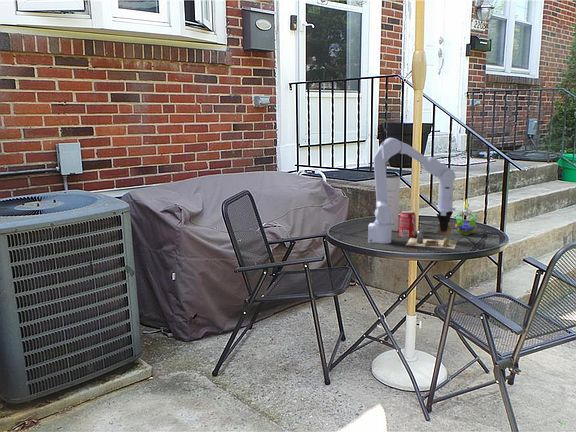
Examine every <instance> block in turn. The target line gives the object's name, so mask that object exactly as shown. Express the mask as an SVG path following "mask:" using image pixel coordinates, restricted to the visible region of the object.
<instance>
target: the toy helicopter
mask: <svg viewBox="0 0 576 432" xmlns="http://www.w3.org/2000/svg"><path fill="white" fill-rule="evenodd" d="M464 207H465V209H464V210H461V211H458V213H456V217H455V219H456V224H455V225H454V228H455V229H457V231H456V232H457V233H461V236H470V234H474V233H475V230H477V229H478V228H477V225H476V222H477V219H478V218H477V214H476V213H475V212H473V211H472V210H469V207H470V203H469V200H468V198H466V199H465V203H464ZM464 216H468V221H465V219H464Z"/></svg>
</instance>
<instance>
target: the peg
mask: <svg viewBox="0 0 576 432" xmlns="http://www.w3.org/2000/svg"><path fill="white" fill-rule="evenodd" d="M416 238H417V243H419V244H422V243H423V239H424V230H420V229H419V230H417V231H416Z"/></svg>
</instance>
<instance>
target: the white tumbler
mask: <svg viewBox="0 0 576 432" xmlns="http://www.w3.org/2000/svg"><path fill="white" fill-rule="evenodd" d="M386 179H387V194H388V204H389V210H390V212H391V214H392V219H391V222H392V232H399V217H400V211H399V210H400V191H401V190H400V189H401V188H400V187H401V186H400V184H401V180H400V179H401V177H400V176H398V175H386Z"/></svg>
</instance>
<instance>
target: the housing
mask: <svg viewBox="0 0 576 432" xmlns="http://www.w3.org/2000/svg"><path fill="white" fill-rule="evenodd" d="M437 235H438V236H451V235H452V221H449V222H448V227H447V231H446V232H443V231H441V229H440V223H439V222H438V223H437Z"/></svg>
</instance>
